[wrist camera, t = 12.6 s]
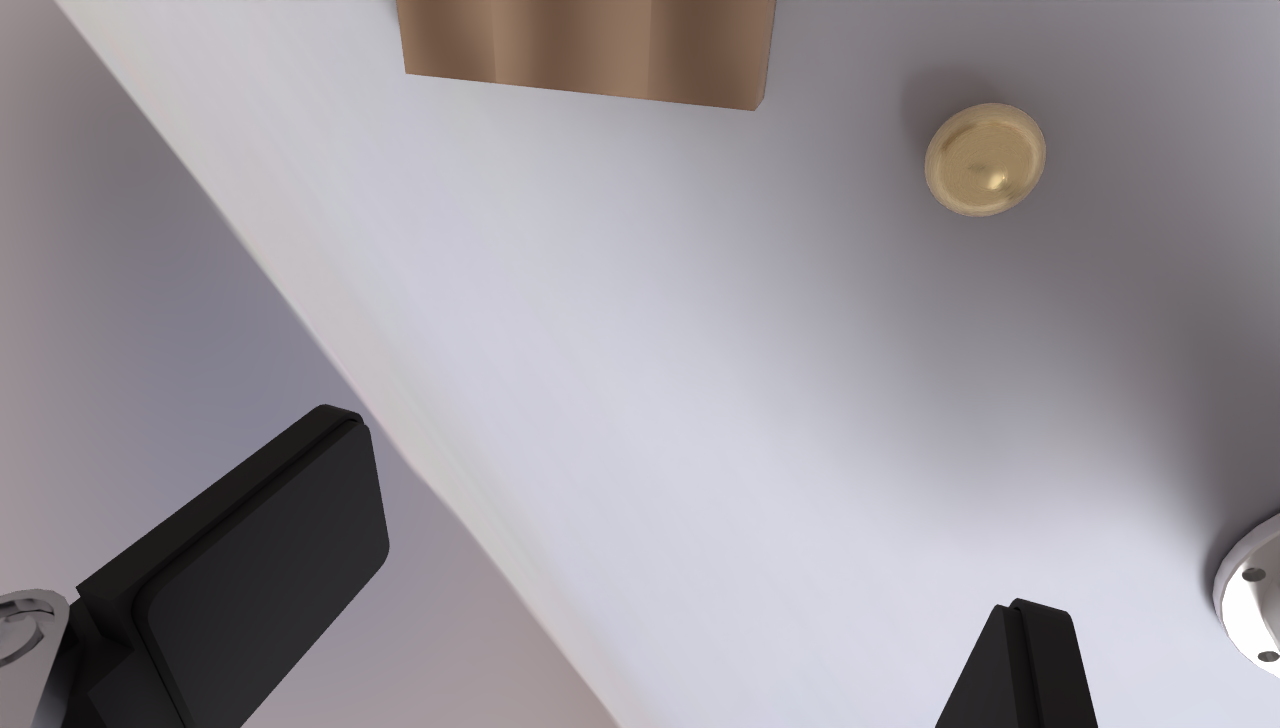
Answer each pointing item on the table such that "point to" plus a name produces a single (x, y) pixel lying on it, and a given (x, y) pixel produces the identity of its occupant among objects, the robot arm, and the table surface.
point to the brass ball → (985, 159)
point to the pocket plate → (597, 46)
